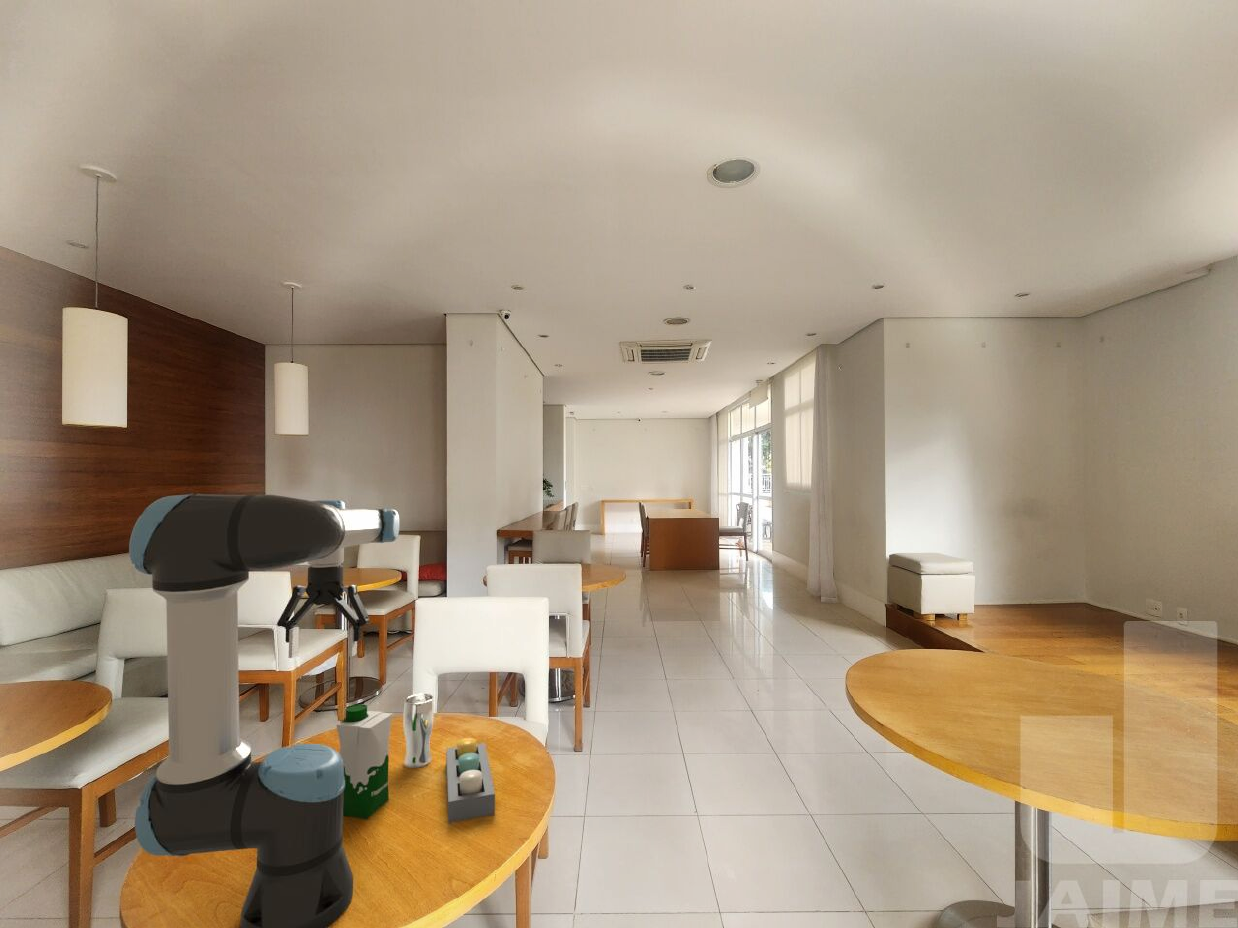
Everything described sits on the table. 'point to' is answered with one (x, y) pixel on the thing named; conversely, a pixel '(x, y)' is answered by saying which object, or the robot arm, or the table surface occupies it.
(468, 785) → the button ivory
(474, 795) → the console
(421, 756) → the beer glass
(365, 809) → the milk carton
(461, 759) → the button teal
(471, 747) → the button amber
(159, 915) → the table surface
